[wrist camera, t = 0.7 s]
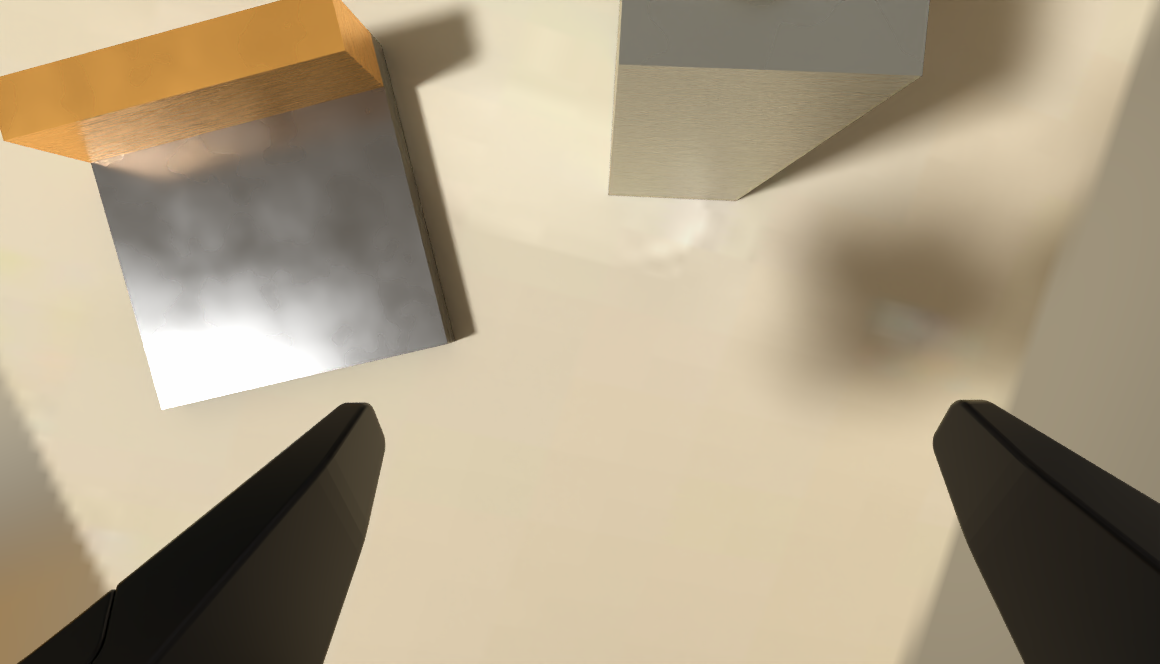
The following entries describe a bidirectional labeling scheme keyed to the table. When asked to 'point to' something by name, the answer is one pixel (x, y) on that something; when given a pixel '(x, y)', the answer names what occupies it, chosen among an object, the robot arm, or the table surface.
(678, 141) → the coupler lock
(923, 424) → the table surface
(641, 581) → the table surface
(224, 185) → the coupler plate
